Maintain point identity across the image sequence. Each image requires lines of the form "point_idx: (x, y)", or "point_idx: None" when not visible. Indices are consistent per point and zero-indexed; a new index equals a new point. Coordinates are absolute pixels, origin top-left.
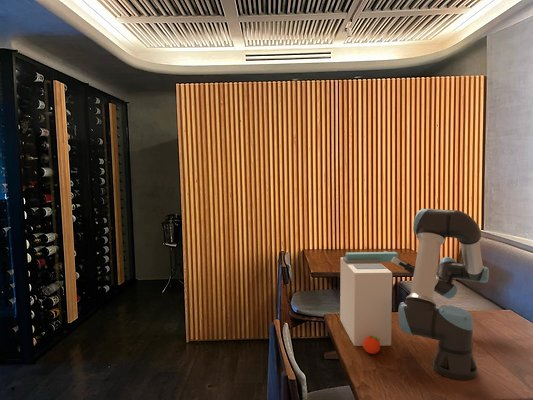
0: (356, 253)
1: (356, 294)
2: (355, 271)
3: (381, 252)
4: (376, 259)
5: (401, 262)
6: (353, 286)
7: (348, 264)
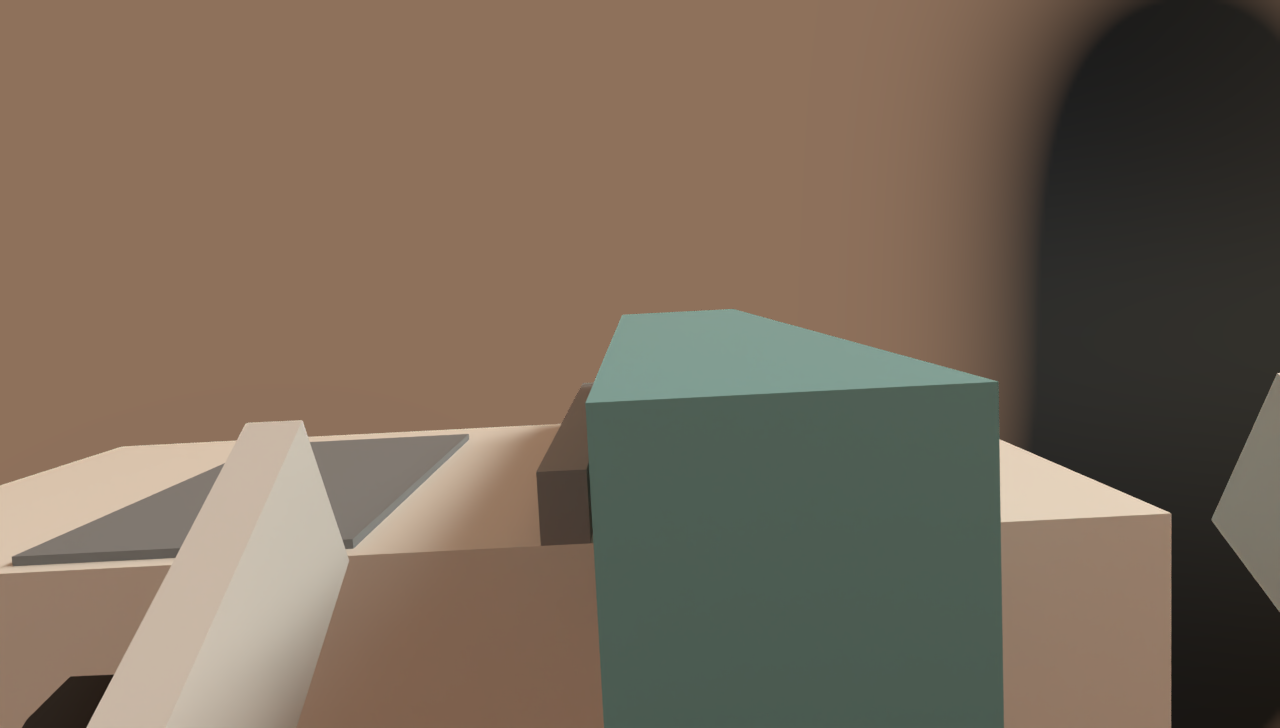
0: (665, 317)
1: None
2: (177, 447)
3: (779, 341)
4: (583, 456)
5: (60, 709)
6: None
7: (526, 428)
